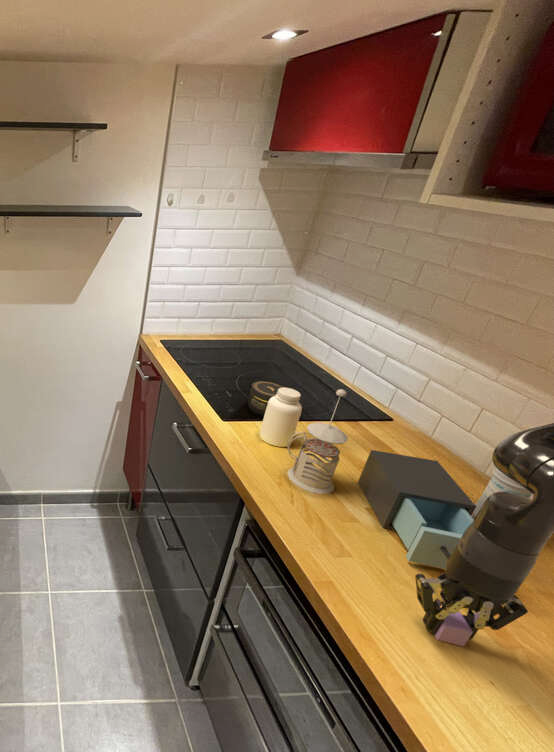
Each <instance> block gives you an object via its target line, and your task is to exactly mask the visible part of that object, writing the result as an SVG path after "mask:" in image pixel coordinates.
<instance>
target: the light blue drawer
mask: <svg viewBox="0 0 554 752" xmlns="http://www.w3.org/2000/svg"><path fill="white" fill-rule="evenodd" d="M473 521H474V519H473V518H472V515H471V516H470V515H469V513H468V512H467V511H466V510H465V509H464V508H463V507H458V506H452V505H447V504H442V503H437V502H431V501H426V500H421V499H415V498H410V497H405V496H403V497H402V500H401V502H400V504H399V506H398V508H397V510H396V512H395V514H394V516H393V518H392V520H391V523H392V524H393V526H394V528H395V529H396V530H395V532H396V533H397V535H398V536H399V538H400V540H401V542H402V543H403V545H404V546H405V548H406V550H407V553H406V555H405V558H406V559H407V562H410V563H415V564H420V565H424V566H429V567H433V568H438V569H442V570H446V567H447V562H448V560H449V558H450V556H451V554H452V553H453V551H454V549H455V547H456V546H457V544H458V542H459V541H460V539H461V537H462V535H463V533H464V532H465V530H466V529H467V528H468V527H469V526H470V525H471V524H472V522H473Z"/></svg>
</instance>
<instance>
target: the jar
mask: <svg viewBox="0 0 554 752" xmlns="http://www.w3.org/2000/svg"><path fill="white" fill-rule="evenodd" d="M279 388H285V387H284V386H282V385H280V384H277V383H275V382H271V381H262V380H261V381H256V382H254V383H253V384H252V385H251V388H250V391H249V396H248V400H247V405H248V408H249V410H250V411H251V412H252V413H254V414H255V415H257V416H260V417H264V415H265V412H266V408H267V405H268V401H269V400H270V398H271V397H273V396H276V394H277V392H278V389H279Z"/></svg>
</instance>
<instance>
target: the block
mask: <svg viewBox="0 0 554 752" xmlns="http://www.w3.org/2000/svg"><path fill="white" fill-rule="evenodd" d="M441 607H442V606H440V608H441ZM462 615H463V614H462V612H461V611H458V612H457V613H456V614H453V613H451V614H450V615H448V616H447V617H446V618H445V619H444V622H443V623H442V625H441V626H440V628H439V630H438V631H437V633H436V634H433V635H434V637H435V639H436V641H439V642H444V643H448V644H452V645H455V646H459V647H464V646H465V645H466V644H467V643H468V641H469V640H468V639H469V638H470V636H471V635H472V633H473V631H472V630H471V628H470V627H469V625H468V624H467V622H466V621H465V619H464V617H463V616H462Z"/></svg>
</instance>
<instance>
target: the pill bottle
mask: <svg viewBox="0 0 554 752" xmlns="http://www.w3.org/2000/svg"><path fill="white" fill-rule="evenodd" d="M301 396H302V395H301V393H300V392H299V391H298V390H296V389H294V388H290V387H284V388H279V389H278V392H277V394H276V396H273V397H271V398H270V400H269V401H268V405H267V408H266V412H265V415H264V416H263V419H262V422H261V425H260V429H259V438H260V439H261V440H262V441H264V442H265V443H266V444H269V445H271V446H274V447H280V448H285V447H286V448H287V444H288V441H289V439H290V437H291V436H292V435H294V434H295V433H296V430H297V426H298V423H299V420H300V417H301V414H302V411H303V406H302V403H300V399H301ZM294 436H295V435H294ZM294 436H293V437H292V438H291V440H290V442H289V444H290V443H291V441H292V440H293V439H294ZM291 444H292V443H291Z"/></svg>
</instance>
